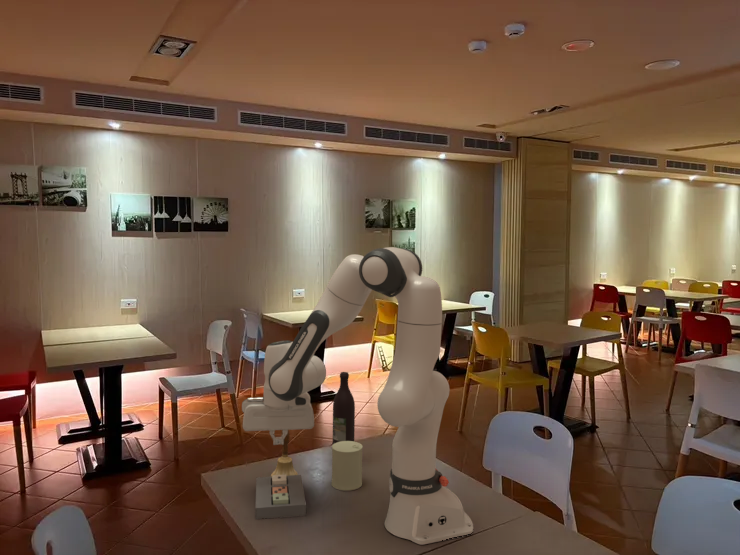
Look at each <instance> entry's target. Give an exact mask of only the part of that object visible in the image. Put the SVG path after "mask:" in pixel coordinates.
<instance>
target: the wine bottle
mask: <svg viewBox="0 0 740 555" xmlns="http://www.w3.org/2000/svg"><path fill="white" fill-rule="evenodd" d="M349 376H350V373H349V372H348V371H341V372H340V373H339V378H340V380H339V381H340V384H339V388H338V390H337V392H336V393H335V396H334V398H333V402H332V445H333V444H335V443H337V442H341V441H354V442H355V430H356V429H355V425H356V424H355V422H356V420H355V419H356V413H355V412H356V405H355V398H354V396H353V393H352V392H351V389H350V387H349V378H350V377H349Z"/></svg>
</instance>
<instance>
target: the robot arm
mask: <svg viewBox="0 0 740 555" xmlns="http://www.w3.org/2000/svg"><path fill="white" fill-rule="evenodd" d="M422 274H423V262H422V260H421V258H420V257H419V255H418V254H417V253H416V252H414V251H412V250H411V249H408V248H403V247H402V248H401V247H400V248H399V247H396V246H394V247H393V246H389V247H388V246H387V247H382V248H381V247H379V248H374V249H372V250H370V251H368V252H367V253H366V254H365V255H364V256H363V255H362V254H361V255H360V254H358V253H357V254H354V253H352V254H349V255H347V256H346V257H345V258H343V260H342V261H341V263H339V265H338V267H337V268H336V269H335V270H334V272H333V273H332V275H331V278H330V279H329V281H328V283H327V285H326V287H325V288H324V291H323V293H322V294H321V297H320V298H319V299H318V302H317V303H316V305H315V306H314V308H313V309H312V311H311V313H310V314H309V316H308V317H307V319H306V320H305V322H304V323H303V324H302V326H301V327H300V329H299V331H298V333H297V334H296V336H295V337H294V339H293V341H292V340H288V339H287V340H279V341H275V342H271V343H270V344H268V345H267V346H266V349H265V353H264V359H263V361H264V362H263V375H264V384H263V396H261V397H260V396H257V397H247V399H246V398H245V399H244V400H243V401H242V402H241V411H242V412H243V417H242V429H243V431H244V432H258V431H261V432H262V431H269V435H270V437H271V439H272V441H273V446H277V445H278V446H279V445H280V446H283V444H284V438H285V437H286V435H287V433H288V430H289V431H291V430H311V429H312V430H313V428H314V427H315V415H314V409H313V405H312V403H311V396H310V394H309V393H308V392H310V391H312V390H314V389H316V388H318V387H321V385H322V384H324V382H325V380H326V377H327V370H326V369H327V368H326V365H325V363H324V362H323V360H322V359H321V358H320V357H318V356H317V355H315V354H316V351H317V350H318V349H319V347H320V346H321V344H322V343H324V341H325V340H326V339H328V338H329V337H331V335H334V334H335V333H337V332H339V331H340V330H342V329H344V328H346V327H347V326H349V325H351V324H352V323H353V322H354V321H355V319H357V317H358V316H359V314H360V313H361V311H362V309H363V307H364V305H365V304H366V302H367V299H368V298H369V296H370V294H371V293H372V291H373V292H377V293H380V294H382V295H384V296H386V297H388V298H394V297H395V298H396V300H397V306H398V307H397V322H396V324H397V326H396V339H395V350H394V356H393V360H392V363H391V367H390V369H389V374H388V377H387V379H386V383H385V385H384V387H383V389H382V390H381V392H380V393H379V395H378V397H377V403H376V404H377V410H378V414H379V416H380V418H381V419H382V420H383V421H384V422H385V423H386V424H387V425H389V426H392V427H394V428H395V427H398V428H397V430H396V433H395V434H394V436H393V439H392V443H391V444H392V446H391V447H392V449H391V450H392V452H391V454H392V457H391V469H390V471H389V472H390V473H389V482H388V483H389V493H390V496H389V497H390V498H389V503H388V508H387V514H386V516H385V519H384V527H385V529H386V530H387V531H388V532H389V533H390V534H392V535H394V536H395V537H397V538H402V539H406V540H408V541H412V542H413V543H415V544H418V545H421V546H422V545H427V544H432V543H437V542H442V540H443V541H447V540H446V539H448V540H450V539H449V538H452V537H457V536H460V535H466V534H469V533H472V532H473V533H474V530H473V529H474V523H473V521H472V519H471V517H470V516H469V514H467V513H466V512H465V510H464V507H463V504H462V501H461V500H460V498H459V497H458V496H457V495H456V494H455V493H454V492H453V491H452V490H450V489H449V488H448V486H449V484H450V483H449V479H447V478H448V477H446V476H444V475H443V473H441V471H439V470H438V469H437V468H436V466H437V465H436V464H437V463H436V461H437V457H436V456H437V444H438V443H437V442H438V436H439V431H440V427H441V422H442V418H443V414H444V409H445V405H446V402H447V400H448V398H449V396H450V391H451V390H450V384H449V381H448V380H447V378H446V377H445V376H444V375H443V373H441V372H439V371H437V370H434V368H435V365H436V363H437V360H438V359H439V358H440V357H439V356H440V354H441V342H442V341H441V340H442V327H443V326H442V325H443V302H442V293H441V287H440V284H439V283H438V282H437V281H436V280H434V279H432V278H430V277H428V276H422ZM282 430H283V434H282V436H281V435H280V436H276V435H275V431H282ZM469 526H470V527H469ZM473 533H472V534H473ZM457 538H458V537H457ZM452 539H453V538H452Z"/></svg>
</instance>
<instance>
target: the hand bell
mask: <svg viewBox="0 0 740 555" xmlns="http://www.w3.org/2000/svg"><path fill="white" fill-rule="evenodd" d="M282 434H283V430H281V432H280V437H281V436H282ZM289 443H290V430H288V433H287V435H286V437H285V438H284V444H283V445H282V448H281V449H282V452H281V454H282V455H281V457H278V458H277V461H276V462H277V463H276V468H275V469H274V471H273V472H272V473H271V475H270V477H272V475H286V476H289V475H299V473H298V472H297V471H296V470H295V467H294V464H293V458H291V457H290V456H289V451H288V449H289V447H288V446H289Z"/></svg>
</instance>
